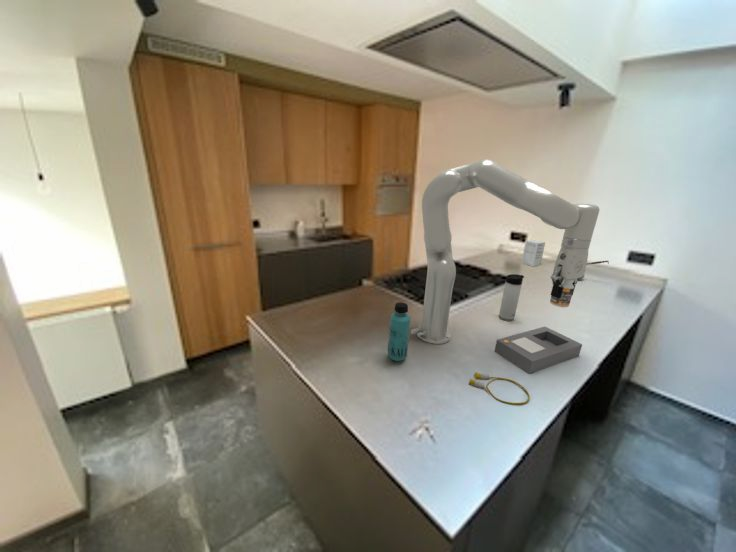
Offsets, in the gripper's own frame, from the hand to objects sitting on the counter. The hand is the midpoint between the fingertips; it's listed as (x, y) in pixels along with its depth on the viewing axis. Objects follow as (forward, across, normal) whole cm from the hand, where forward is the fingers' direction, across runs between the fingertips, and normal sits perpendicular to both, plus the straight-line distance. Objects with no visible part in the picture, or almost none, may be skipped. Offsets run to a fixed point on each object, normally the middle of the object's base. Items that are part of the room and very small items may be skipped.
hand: (561, 295), depth 103 cm
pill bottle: (+4, 0, 0) cm, 4 cm away
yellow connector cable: (+22, -33, -8) cm, 41 cm away
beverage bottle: (+22, -54, +16) cm, 60 cm away
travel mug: (+22, +7, +24) cm, 33 cm away
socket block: (+21, -6, 0) cm, 22 cm away
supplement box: (+22, +97, +80) cm, 128 cm away
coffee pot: (+22, +96, +44) cm, 108 cm away
